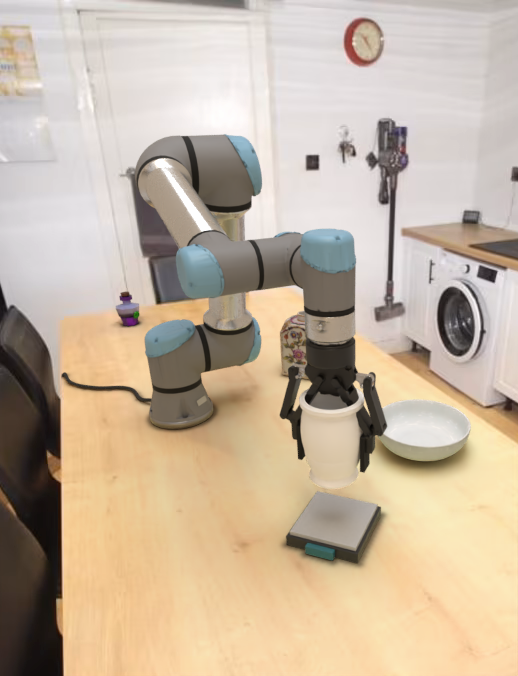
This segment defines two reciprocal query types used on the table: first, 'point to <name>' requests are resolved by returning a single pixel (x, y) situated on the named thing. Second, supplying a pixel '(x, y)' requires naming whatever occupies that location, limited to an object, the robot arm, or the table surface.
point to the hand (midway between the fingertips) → (333, 461)
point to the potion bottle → (128, 310)
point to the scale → (334, 527)
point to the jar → (331, 439)
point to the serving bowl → (424, 429)
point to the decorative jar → (293, 342)
